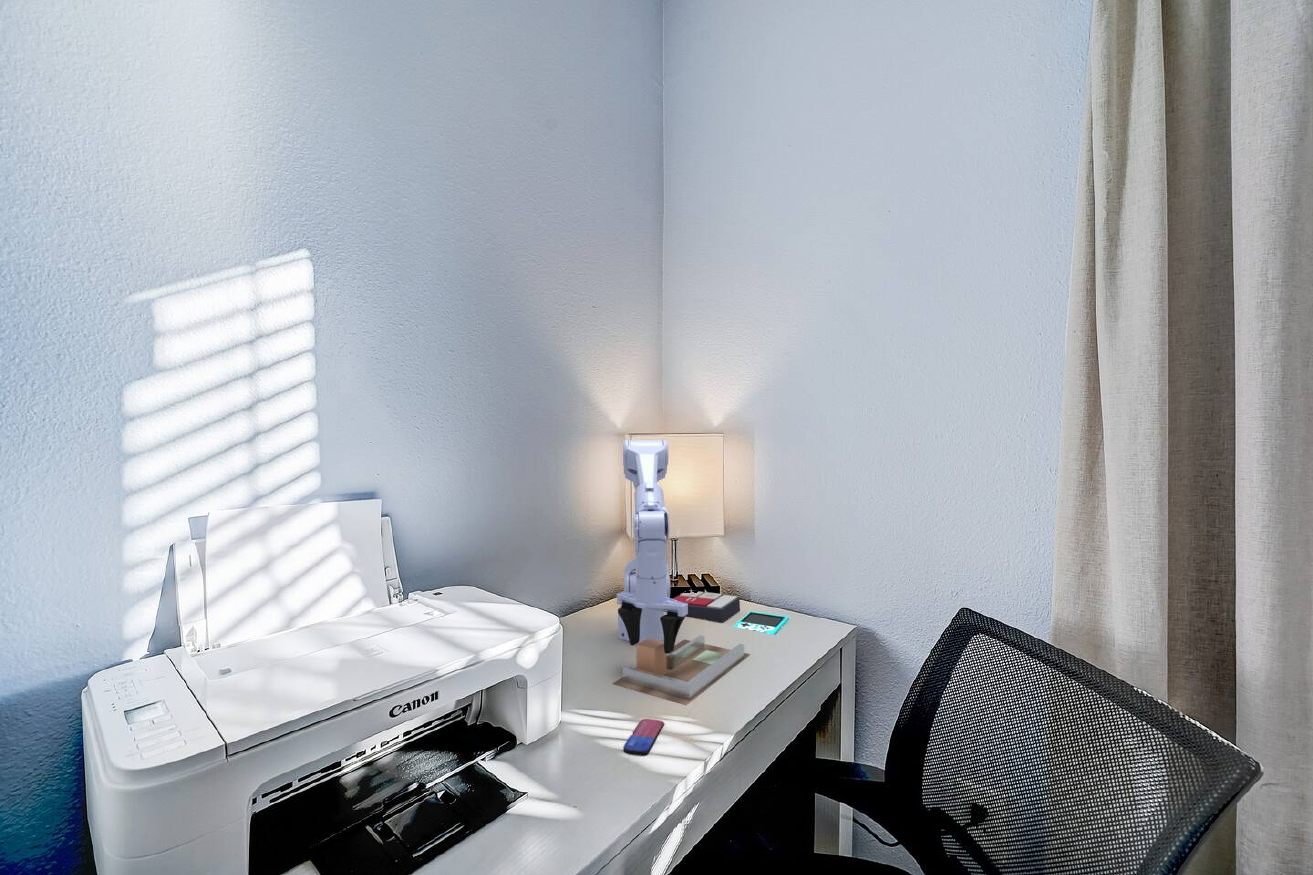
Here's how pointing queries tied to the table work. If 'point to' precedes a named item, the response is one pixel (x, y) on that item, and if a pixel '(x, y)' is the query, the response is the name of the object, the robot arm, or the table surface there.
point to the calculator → (710, 606)
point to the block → (651, 656)
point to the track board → (686, 671)
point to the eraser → (643, 737)
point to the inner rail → (684, 652)
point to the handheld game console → (762, 622)
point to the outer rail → (679, 686)
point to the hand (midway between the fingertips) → (651, 647)
